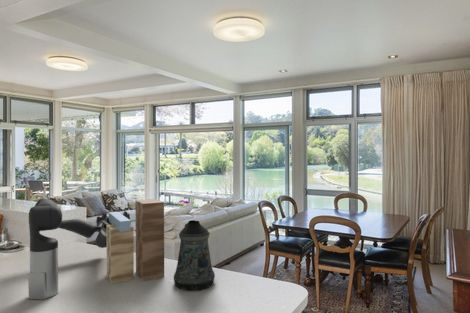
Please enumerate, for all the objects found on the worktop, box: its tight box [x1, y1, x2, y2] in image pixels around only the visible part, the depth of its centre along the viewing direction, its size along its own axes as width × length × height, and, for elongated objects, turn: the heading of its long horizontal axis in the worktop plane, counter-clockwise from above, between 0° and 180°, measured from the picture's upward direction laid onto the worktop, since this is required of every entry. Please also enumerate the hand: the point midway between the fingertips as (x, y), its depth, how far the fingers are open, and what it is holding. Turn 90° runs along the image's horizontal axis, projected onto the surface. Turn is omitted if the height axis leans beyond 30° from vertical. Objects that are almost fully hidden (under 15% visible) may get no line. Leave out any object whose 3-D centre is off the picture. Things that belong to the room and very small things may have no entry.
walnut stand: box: [134, 198, 165, 282], centre depth 147 cm, size 12×9×32 cm
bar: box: [108, 211, 132, 232], centre depth 144 cm, size 24×4×4 cm, turn 31°
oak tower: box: [106, 224, 135, 284], centre depth 143 cm, size 10×9×22 cm
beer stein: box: [173, 220, 216, 292], centre depth 137 cm, size 16×19×25 cm
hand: (115, 214), depth 149 cm, fingers open, 8 cm apart
